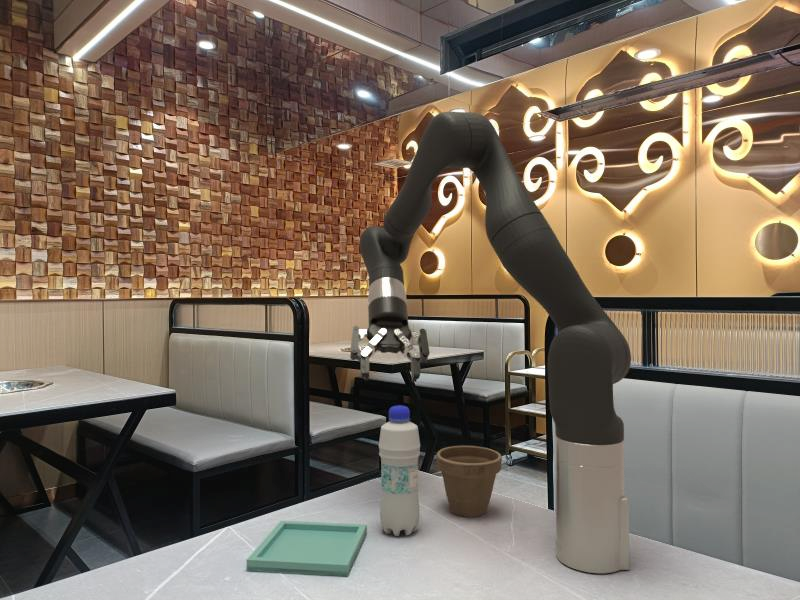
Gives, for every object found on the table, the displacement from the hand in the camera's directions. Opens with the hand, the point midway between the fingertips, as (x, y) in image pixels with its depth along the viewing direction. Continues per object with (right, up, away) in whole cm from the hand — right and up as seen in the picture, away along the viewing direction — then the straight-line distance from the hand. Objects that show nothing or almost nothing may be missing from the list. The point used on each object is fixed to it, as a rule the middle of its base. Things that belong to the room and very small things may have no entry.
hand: (391, 378), depth 100 cm
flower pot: (+14, -23, -1) cm, 27 cm away
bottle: (+2, -23, -9) cm, 25 cm away
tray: (-11, -23, -17) cm, 31 cm away
